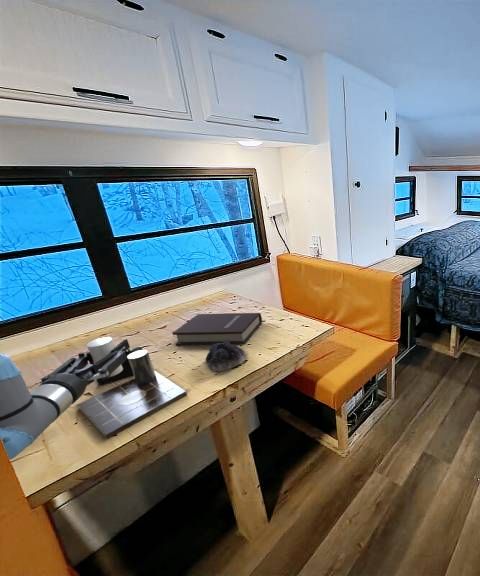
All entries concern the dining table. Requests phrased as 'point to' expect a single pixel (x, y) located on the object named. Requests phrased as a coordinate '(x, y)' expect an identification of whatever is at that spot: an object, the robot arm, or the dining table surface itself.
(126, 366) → the camera
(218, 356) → the crystal cluster
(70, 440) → the dining table surface
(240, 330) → the book
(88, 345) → the white plastic cylinder
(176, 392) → the grid board
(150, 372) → the shiny metal cylinder
